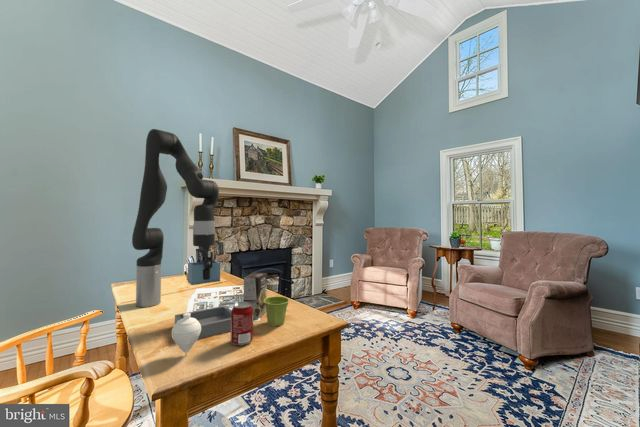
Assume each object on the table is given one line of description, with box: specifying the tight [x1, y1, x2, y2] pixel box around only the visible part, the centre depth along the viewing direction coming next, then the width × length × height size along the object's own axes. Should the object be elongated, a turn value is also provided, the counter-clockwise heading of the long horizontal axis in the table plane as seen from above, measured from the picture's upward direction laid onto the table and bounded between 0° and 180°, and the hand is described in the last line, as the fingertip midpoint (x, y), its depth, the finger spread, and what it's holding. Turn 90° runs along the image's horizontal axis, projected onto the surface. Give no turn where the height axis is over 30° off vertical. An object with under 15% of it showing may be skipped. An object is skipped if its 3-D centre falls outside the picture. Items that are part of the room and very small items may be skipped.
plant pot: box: [264, 295, 290, 327], centre depth 103 cm, size 9×9×9 cm
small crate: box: [187, 260, 221, 286], centre depth 104 cm, size 6×10×7 cm, turn 128°
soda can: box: [230, 301, 254, 347], centre depth 88 cm, size 7×7×12 cm
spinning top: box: [171, 312, 201, 357], centre depth 79 cm, size 8×8×12 cm
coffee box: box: [242, 272, 268, 321], centre depth 111 cm, size 9×6×16 cm
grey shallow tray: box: [174, 305, 232, 340], centre depth 98 cm, size 15×18×4 cm
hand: (204, 277), depth 104 cm, fingers closed on small crate, 6 cm apart
